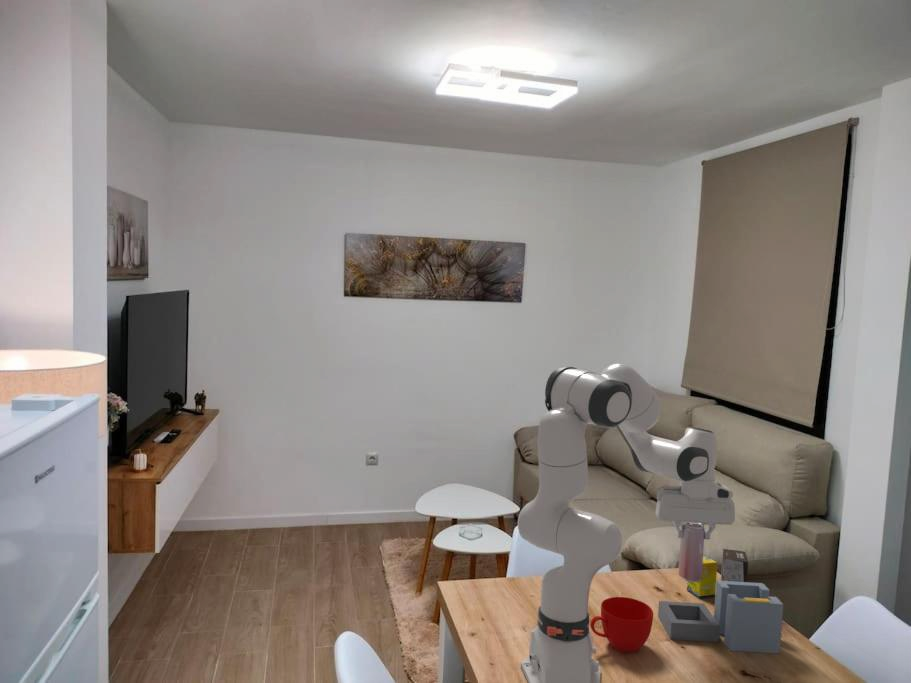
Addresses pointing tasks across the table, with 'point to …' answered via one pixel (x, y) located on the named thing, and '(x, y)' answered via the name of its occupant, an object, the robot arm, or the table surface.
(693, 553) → the beverage can
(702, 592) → the supplement box
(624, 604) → the ceramic cup
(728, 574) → the coffee box
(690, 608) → the tray
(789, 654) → the table surface
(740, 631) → the socket
